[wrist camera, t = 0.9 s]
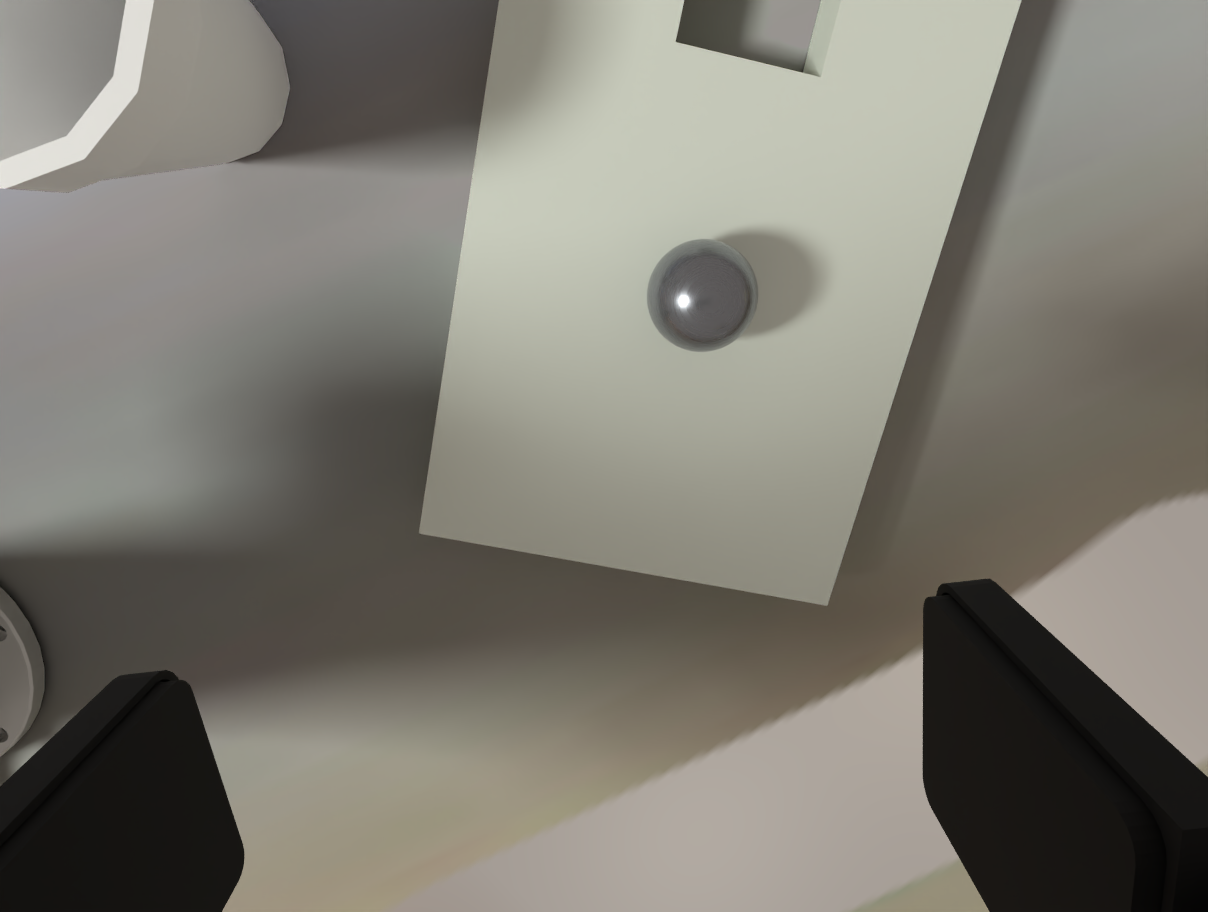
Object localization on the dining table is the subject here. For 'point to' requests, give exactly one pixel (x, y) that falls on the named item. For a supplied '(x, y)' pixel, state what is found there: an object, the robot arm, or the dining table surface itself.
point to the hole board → (674, 216)
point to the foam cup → (133, 88)
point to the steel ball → (702, 295)
